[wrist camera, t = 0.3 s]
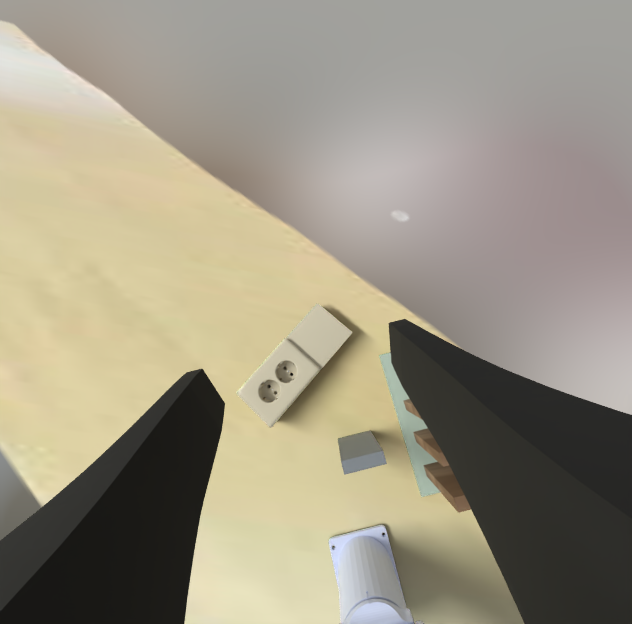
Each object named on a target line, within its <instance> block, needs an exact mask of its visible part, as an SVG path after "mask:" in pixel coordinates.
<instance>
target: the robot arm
mask: <svg viewBox="0 0 632 624" xmlns="http://www.w3.org/2000/svg"><path fill="white" fill-rule="evenodd" d="M389 334H390V350H391V363H392V366H393V368H394V370H395V372H396V374H397V377H398V379H399V381H400V383H401V385H402V387H403V389H404V390H405V392H406V394H407V395H408V397H409V398H410V400H411V402H412V403H413V405H414V407H415V408H416V410H417V411H418V413H419V415H420V416H421V418H422V420H423V421H424V423H425V424H426V426H427V428H428V429H429V431H430V432H431V434H432V436H433V437H434V439H435V441H436V442H437V444H438V445H439V447H440V449H441V451H442V452H443V454H444V456H445V458H446V460H447V462H448V464H449V466H450V468H451V469H452V471H453V473H454V475H455V477H456V479H457V481H458V483H459V485H460V487H461V489H462V491H463V493H464V495H465V497H466V499H467V501H468V503H469V505H470V507H471V509H472V512H473V514H474V516H475V518H476V520H477V522H478V524H479V526H480V528H481V530H482V532H483V534H484V536H485V538H486V541H487V543H488V545H489V547H490V549H491V551H492V553H493V555H494V558H495V560H496V562H497V564H498V566H499V568H500V570H501V572H502V575H503V577H504V579H505V581H506V583H507V585H508V588H509V590H510V592H511V594H512V597H513V599H514V601H515V603H516V605H517V608H518V610H519V612H520V614H521V616H522V619H523V621H524V623H525V624H632V415H630V414H626V413H623V412H620V411H617V410H614V409H611V408H608V407H605V406H602V405H599V404H596V403H593V402H590V401H587V400H584V399H581V398H578V397H575V396H572V395H569V394H567V393H564V392H561V391H558V390H556V389H553V388H550V387H547V386H545V385H542V384H540V383H537V382H535V381H532V380H530V379H527V378H524V377H522V376H520V375H517V374H514V373H512V372H510V371H507V370H505V369H503V368H500V367H498V366H496V365H494V364H491V363H489V362H487V361H485V360H483V359H480V358H479V357H476V356H474V355H472V354H470V353H468V352H466V351H464V350H462V349H460V348H458V347H456V346H454V345H452V344H450V343H448V342H446V341H444V340H443V339H441V338H439V337H437V336H435V335H433V334H431V333H430V332H428V331H426V330H424V329H422V328H421V327H419V326H417V325H415V324H413V323H411V322H410V321H408V320H406V319H403V320H399V321H395V322H391V323H389ZM224 407H225V403H224V401H223V400H222V398H221V397H220V395H219V394H218V392H217V391H216V389H215V387H214V386H213V384H212V383H211V381H210V380H209V378H208V377H207V375H206V374H205V372H204V370H203V369H199V370H195V371H191V372H187V373H186V374H184V375H183V376H182V377H181V378H180V379H179V380H178V381H177V382H176V383H175V384H174V385H173V386H172V387H171V388H170V389H169V390H168V391H166V392H165V393H164V394H163V395H162V397H161V398H160V399H159V400H158V401H157V402H156V403H155V404H154V405H153V406H152V407H151V408H150V409H149V410H148V411H147V412H146V413H145V414H144V415H143V416H142V417H141V418H140V419H139V420H138V421H137V422H136V423H135V424H134V425H133V426H132V427H131V428H129V429H128V430H127V431H126V432H125V433H124V434H123V435H122V436H121V437H120V438H119V439H118V440H117V441H116V442H115V443H114V444H113V445H112V446H111V447H110V448H109V449H107V450H106V451H105V452H104V453H103V454H102V455H101V456H100V457H99V458H98V459H97V460H96V461H95V462H94V463H93V464H91V465H90V466H89V467H88V468H87V469H86V470H85V471H84V472H83V473H81V474H80V475H79V476H78V477H77V478H76V479H75V480H73V481H72V482H71V483H70V484H69V485H68V486H67V487H65V488H64V489H63V490H62V491H61V492H60V493H58V494H57V495H56V496H55V497H54V498H53V499H51V500H50V501H49V502H48V503H47V504H45V505H44V506H43V507H42V508H41V509H40V510H39V511H37V512H36V513H35V514H33V515H32V516H31V517H29V518H28V519H27V520H26V521H24V522H23V523H22V524H21V525H20V526H18V527H17V528H16V529H14V530H13V531H12V532H11V533H9V534H8V535H7V536H6V537H4V538H3V539H2V540H1V541H0V624H184V621H185V612H186V604H187V596H188V589H189V582H190V575H191V569H192V562H193V555H194V549H195V543H196V537H197V531H198V526H199V520H200V515H201V510H202V506H203V501H204V497H205V493H206V489H207V486H208V482H209V478H210V474H211V470H212V466H213V463H214V459H215V455H216V451H217V447H218V443H219V439H220V435H221V431H222V424H223V417H224ZM382 533H385V535H382ZM333 545H334V546H335V547H334V548H333V547H332V546H333ZM329 546H330V551H331V556H332V560H333V565H334V570H335V574H336V579H337V584H338V588H339V602H340V621H341V623H340V624H415V623H414V620H413V617H412V614H411V611H410V609H407V608H406V603H405V599H404V596H403V592H402V588H401V584H400V580H399V577H398V573H397V569H396V565H395V561H394V558H393V554H392V550H391V546H390V542H389V538H388V535H387V531H386V528H385V526H384V525H378V526H374V527H370V528H366V529H362V530H358V531H354V532H350V533H346V534H342V535H338V536H334V537H331V538H330V539H329ZM416 624H424V623H423V621H416Z"/></svg>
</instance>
